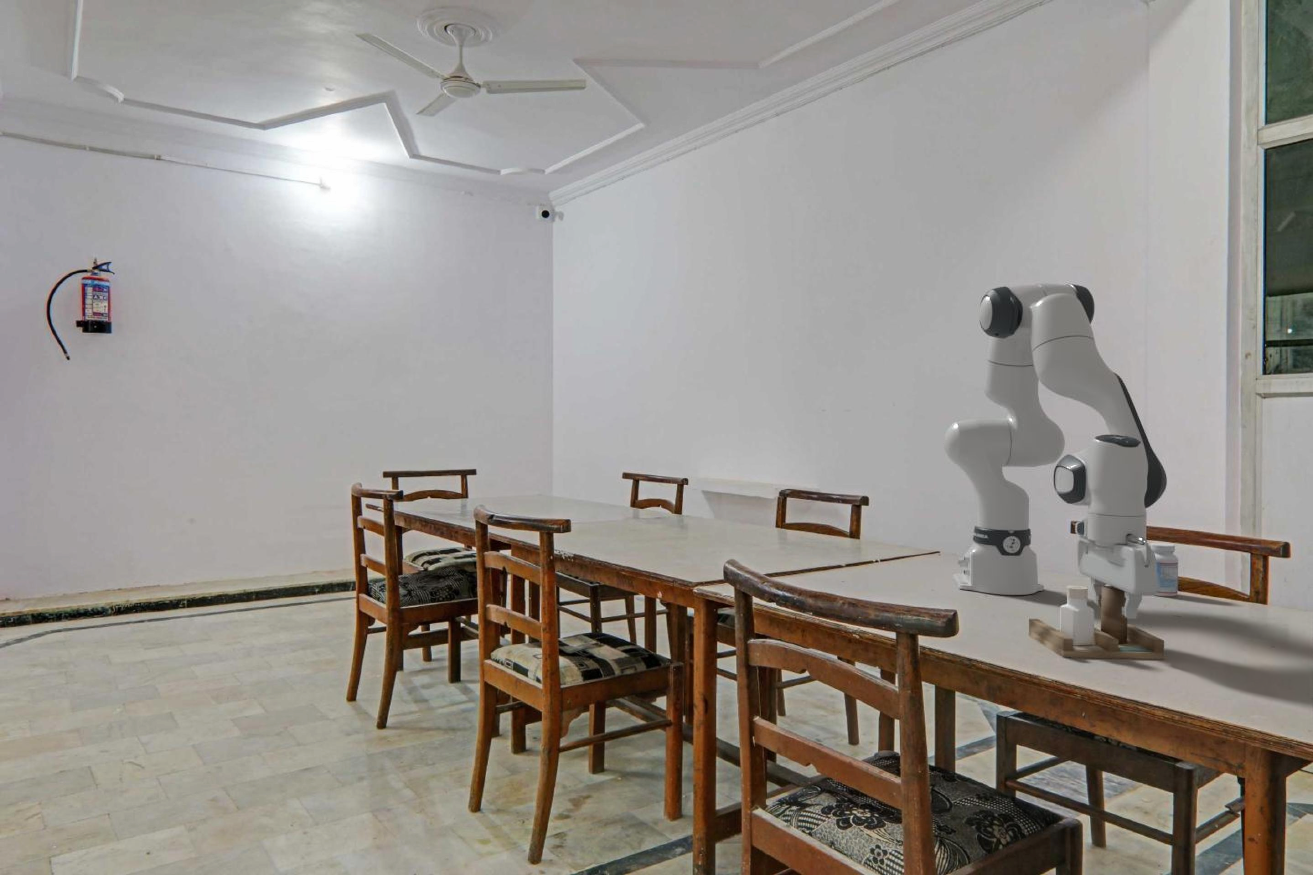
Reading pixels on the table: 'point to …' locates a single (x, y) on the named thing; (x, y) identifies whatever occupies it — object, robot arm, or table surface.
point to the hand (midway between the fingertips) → (1114, 611)
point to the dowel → (1113, 613)
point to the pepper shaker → (1077, 617)
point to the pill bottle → (1166, 569)
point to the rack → (1099, 643)
